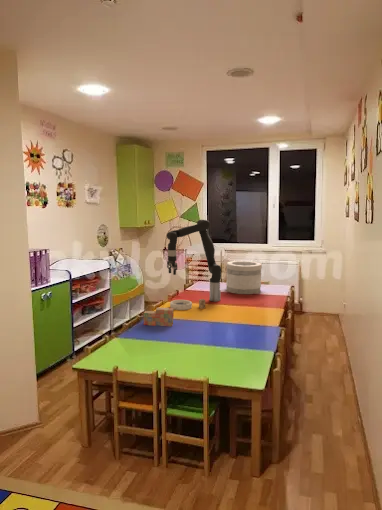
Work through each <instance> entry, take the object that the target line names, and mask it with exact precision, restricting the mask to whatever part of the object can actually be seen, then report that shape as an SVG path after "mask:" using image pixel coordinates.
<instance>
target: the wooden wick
mask: <svg viewBox="0 0 382 510" xmlns="http://www.w3.org/2000/svg"><path fill="white" fill-rule="evenodd" d="M198 308H199V309H206V299H203V298H202V299H198Z"/></svg>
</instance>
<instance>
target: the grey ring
mask: <svg viewBox="0 0 382 510" xmlns="http://www.w3.org/2000/svg"><path fill="white" fill-rule="evenodd" d="M169 306H170V308H173V310H176V311H187V310H190V309H192V306H193V303H192V301H191V300H187V299H174V300H171V301H170V303H169Z"/></svg>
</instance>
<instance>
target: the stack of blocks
mask: <svg viewBox="0 0 382 510" xmlns="http://www.w3.org/2000/svg"><path fill="white" fill-rule="evenodd" d="M173 325H174V309H173V308H171V307H159V306H158V307H157V306H156V309H155V310H145V311H144V312H143V326H153V327H154V326H155V327H156V326H157V327H158V326H159V327H173Z"/></svg>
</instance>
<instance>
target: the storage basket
mask: <svg viewBox="0 0 382 510" xmlns="http://www.w3.org/2000/svg"><path fill="white" fill-rule="evenodd" d="M262 265H263V264H262V263H260V262H258V261H251V260H233V261H232V260H231V261H228V262H226V275H225V276H226V284H225V285H226V287H225V288H226V292H229V293H232V294H237V295H253V293H255V294H258V293H260V292H261V287H262V268H263V267H262Z"/></svg>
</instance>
